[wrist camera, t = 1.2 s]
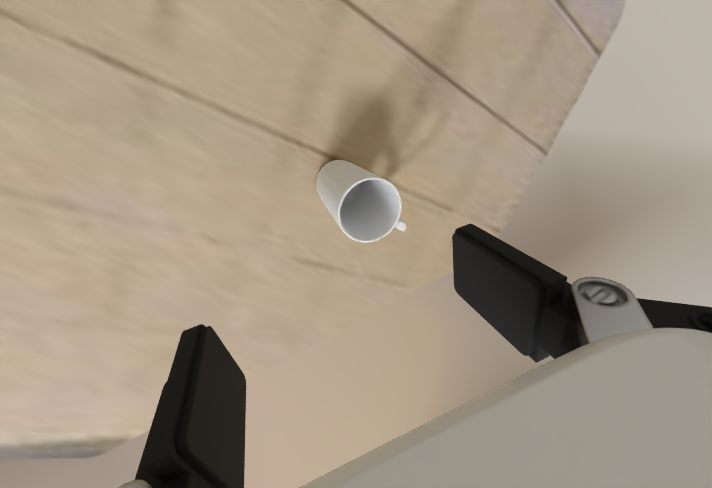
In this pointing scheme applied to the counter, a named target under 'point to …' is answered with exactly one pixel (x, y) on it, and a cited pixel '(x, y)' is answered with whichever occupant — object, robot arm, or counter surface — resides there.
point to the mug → (359, 201)
